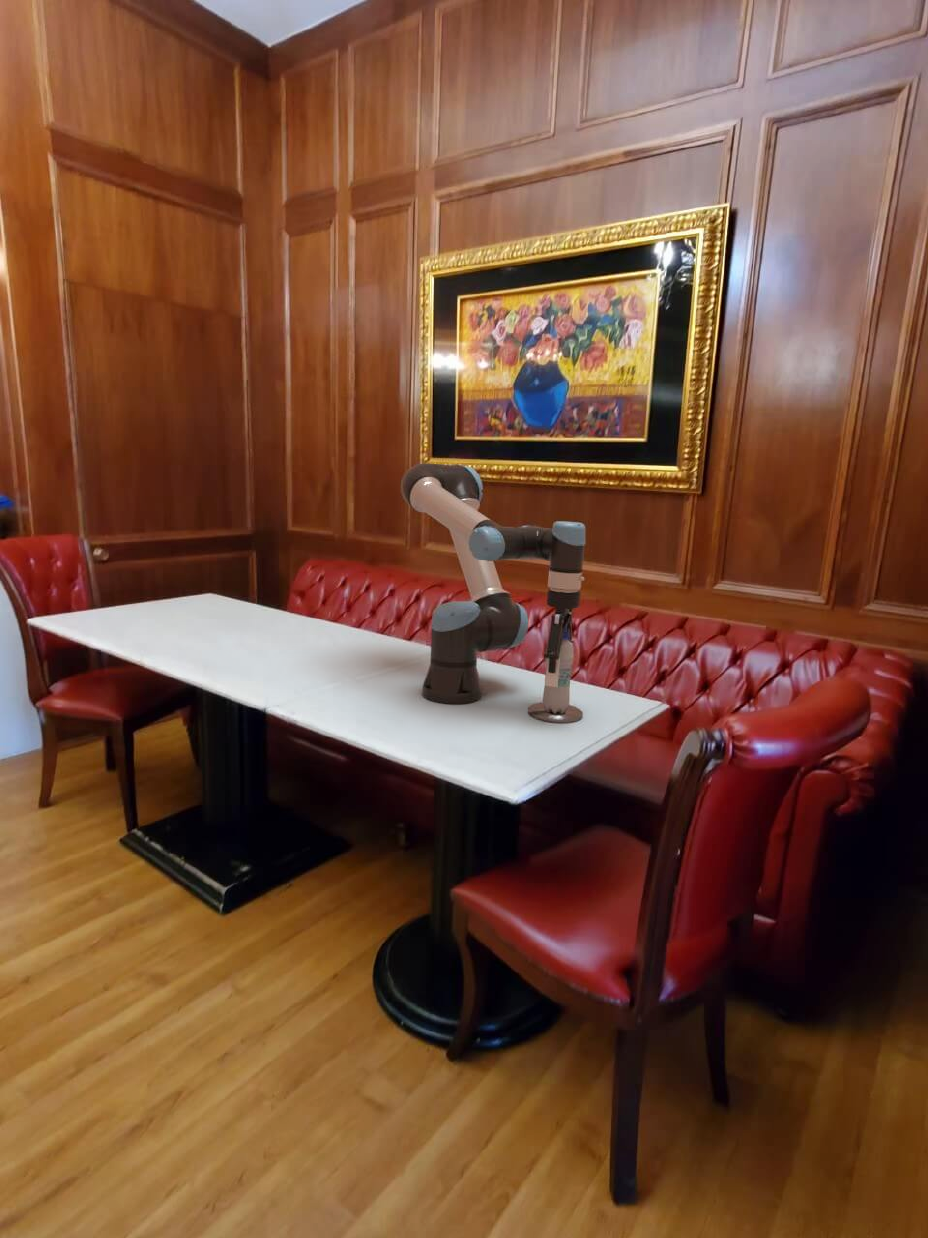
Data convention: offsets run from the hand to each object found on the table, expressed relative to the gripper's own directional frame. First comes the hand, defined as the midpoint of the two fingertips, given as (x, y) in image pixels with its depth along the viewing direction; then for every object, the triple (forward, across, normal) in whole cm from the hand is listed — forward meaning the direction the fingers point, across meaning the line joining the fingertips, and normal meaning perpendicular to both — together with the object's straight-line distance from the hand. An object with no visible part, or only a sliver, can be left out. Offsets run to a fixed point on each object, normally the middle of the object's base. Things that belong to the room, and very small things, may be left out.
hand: (556, 678), depth 165 cm
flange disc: (+9, 0, 0) cm, 9 cm away
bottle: (+8, 0, 0) cm, 8 cm away
